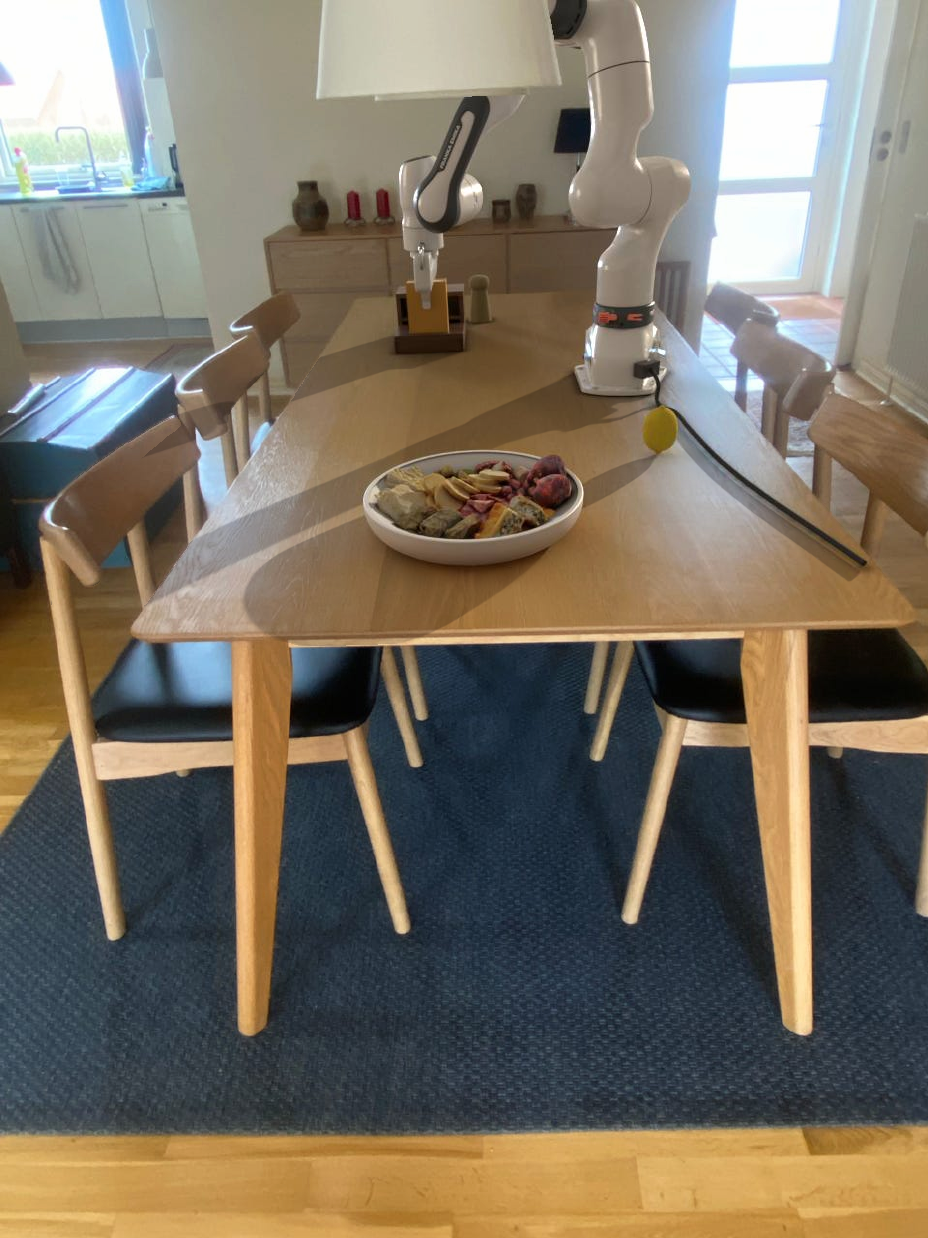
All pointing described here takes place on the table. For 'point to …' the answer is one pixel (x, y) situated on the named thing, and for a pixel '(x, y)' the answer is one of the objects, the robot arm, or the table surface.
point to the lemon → (660, 429)
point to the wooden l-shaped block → (434, 340)
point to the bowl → (474, 506)
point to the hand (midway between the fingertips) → (427, 305)
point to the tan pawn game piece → (479, 299)
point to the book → (432, 317)
